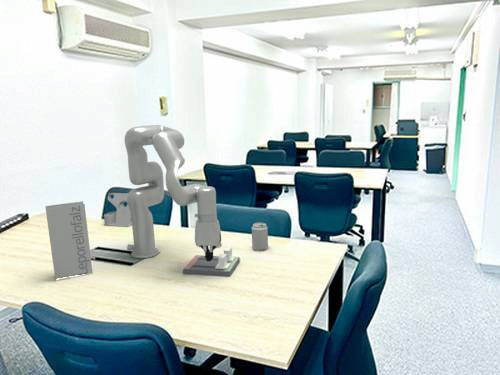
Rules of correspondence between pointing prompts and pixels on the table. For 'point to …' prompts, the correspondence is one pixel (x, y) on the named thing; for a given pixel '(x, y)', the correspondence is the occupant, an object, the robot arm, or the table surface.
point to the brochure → (69, 239)
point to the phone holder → (118, 211)
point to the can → (259, 236)
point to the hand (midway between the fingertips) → (209, 260)
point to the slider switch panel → (209, 266)
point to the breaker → (229, 254)
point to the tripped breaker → (222, 262)
